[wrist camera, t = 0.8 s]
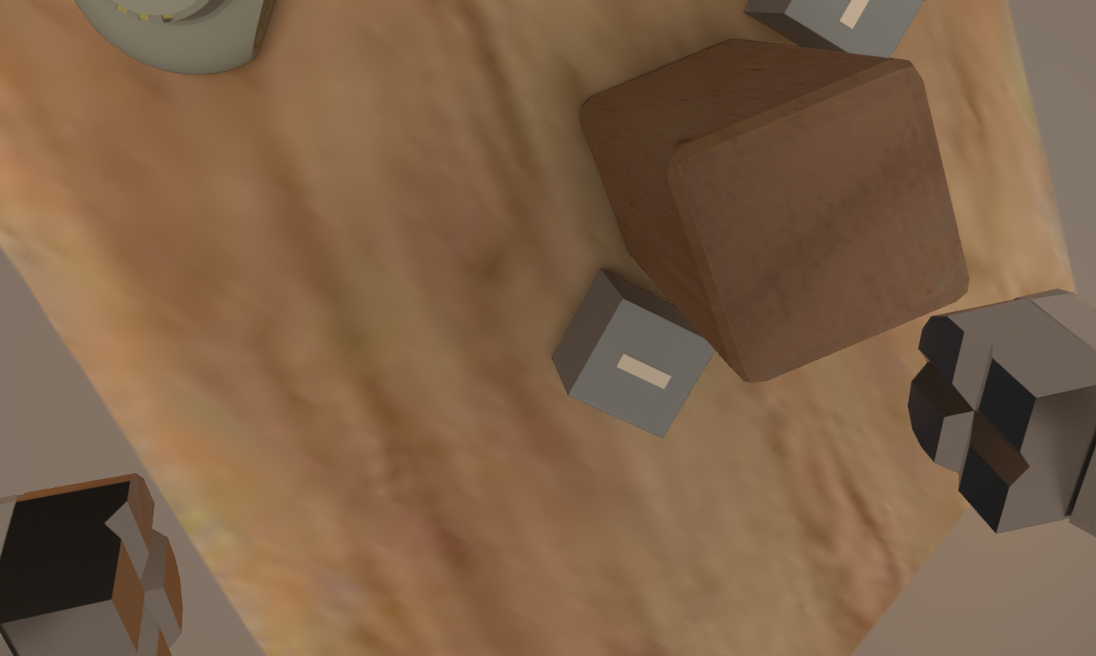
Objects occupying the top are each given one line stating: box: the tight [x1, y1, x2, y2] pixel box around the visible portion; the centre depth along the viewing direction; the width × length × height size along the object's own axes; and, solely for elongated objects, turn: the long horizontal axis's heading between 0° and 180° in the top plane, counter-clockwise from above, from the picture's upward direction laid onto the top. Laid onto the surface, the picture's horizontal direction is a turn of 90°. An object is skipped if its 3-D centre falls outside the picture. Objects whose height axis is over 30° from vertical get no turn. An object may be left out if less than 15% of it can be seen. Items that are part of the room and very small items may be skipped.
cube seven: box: [552, 269, 715, 438], centre depth 55 cm, size 6×6×6 cm
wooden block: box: [581, 40, 969, 382], centre depth 45 cm, size 10×10×20 cm
